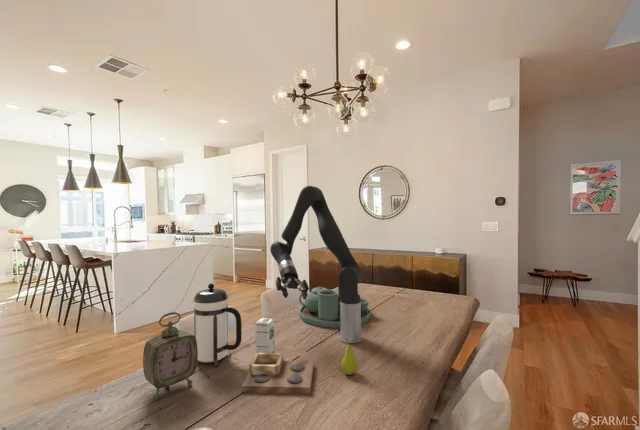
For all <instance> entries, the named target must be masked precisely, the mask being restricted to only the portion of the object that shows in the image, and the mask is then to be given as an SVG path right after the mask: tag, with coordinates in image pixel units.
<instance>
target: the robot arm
mask: <svg viewBox="0 0 640 430" xmlns="http://www.w3.org/2000/svg"><path fill="white" fill-rule="evenodd" d="M324 195H325V194H324V192H323V190H321V189H320V188H319V187H317V186H314V185H313V186H312V185H306V186H304V187H303V188H302V189H301V191H300V192H299V194H298V198H297V200H296V203H295V205H294V206H295V207H294V209H293V211H292V214H291V216H290V218H289V219H288V222H287V224H286V226H285V228H284V230H283V231H282V233H281V238H282V240H284V241H285V242H286V243H284V242H281V241H274V242H273V243H272V244H271V245H270V254H271V256H272V257H273V259H274V260H275V261H276V263H277V267H278V272H279V276H280V277H279V276H277V278H276V280H275V285H276V291H281V292H282V293H281V294H282V296H283V297H284V299H287V298H288V297H289V293H288V289H293V290H296V291H297V292H300V294H302V297H301V298H302V299H303V300H305V299H306V297H307V293H309V290H310V286H309V284H308V283H307V280H306V279H303V280H300V279H299V275H298V272H297V269H296V266H295V264H294V262H293V260H292V259H293V258H292V257H291V255H292V251H293V247H294V244H295V240H296V239H297V237H298V235H299V233H300V232H301V229H302V226H303V221H304V218H305V215H306V213H307V212H308V209H309V208H310V207H311V208H312V210H313V211H314V215H316V220H317V227H318V232H319V235H320V238H321V239H322V241H323V243H324V245H325V246H326V248H327V249H328V250H329V252H330V253H331V254H333V256H335V258H336V260H337V261H338V263H339V265H340V267H341V269H339V270H340V271H339V272H338V275H337V276H338V277H337V287H338V288H337V291H338V292H339V297H340V328H339V333H340V334H339V335H340V337H339V338H340V341H341V342H343V343H346V344H348V343H349V344H357V343H361V342H362V324H361V299H362V298H361V295H360V294H359V291H358V290H359V287H358V285H359V284H360V283H361V282H362V280H363V277H364V276H363V271H362V269H361V267H360V265H359V264H358V262H357V261H356V259H355V258H354V256H353V254H352V252H351V251H350V248H349V247H348V244H347V242H346V240H345V238H344V236H343V233H342V231H341V229H340V228H339V226H338V224H337V222H336V219H335V218H334V216H333V214H332V212H331V211H330V207H328V203H327V201H326V198H325V196H324ZM282 284H283V285H282ZM346 338H347V340H348V342H347V340H346Z"/></svg>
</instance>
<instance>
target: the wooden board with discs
mask: <svg viewBox="0 0 640 430" xmlns="http://www.w3.org/2000/svg"><path fill="white" fill-rule="evenodd" d="M314 362H315V361H313V360H309V361H308V360H284V353H280V352H275V353H256V352H255V354H254V356H253V357H252V359H251V360H250V363H249V365H248V372H247V373H248V374H247V375H246V377H245V379H244V381H243V383H242V385H241V393H251V394H252V393H254V394H255V393H256V394H257V393H258V394H262V393H263V394H296V395H297V394H302V395H303V394H305V395H306V394H307V395H310V394H311V390H312V384H313V383H312V382H313V377H314V375H313V374H314V369H315V367H314V365H315V363H314Z"/></svg>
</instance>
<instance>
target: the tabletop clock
mask: <svg viewBox="0 0 640 430" xmlns="http://www.w3.org/2000/svg"><path fill="white" fill-rule="evenodd" d="M171 315H177V316H178V319H177V320H176V321H174V322H172V321H168V323H167V324H163V323H162V320H163V319H164V318H165V317H168V316H171ZM181 318H182V316H181V314H180V313H178V312H175V311H174V312H173V311H172V312H169V313H165V314H164V315H162V316H161V317H160V318H159V322H158V325H160V326H161V327H163V328H164V327H165V328H164V329H163V330H162V331H161V334H158V335H156V336H152V337H151V338H149V339H148V340H146V341H145V345H144V348H143V352H142V353H143V355H142V366H143V367H142V368H143V375H144V378H145V380H146V381H147V382H149V384H151V385H152V386H154V388H155V389H156V393H155V394H153V399H154V400H158V399H159V398H160V394H159V392H160V389H164V388H170V386H172V385H176V384H178V383H181V382H183V381H184V380H186V384H187V385H188V386H191V385H192V384H193V380H192V379H189V378H190V377H191V376H193V375H195V373H196V370H197V366H198V362H197V357H198V350H197V341H196V338H195V336H194V334H192V333H190V332H187V331H185V330H182V329H178V327H176V326H175V325H177V324H178V323H179V322H180V321H181Z"/></svg>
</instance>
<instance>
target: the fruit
mask: <svg viewBox="0 0 640 430" xmlns="http://www.w3.org/2000/svg"><path fill="white" fill-rule="evenodd" d="M346 340H347V338H346ZM347 342H348V340H347ZM344 352H345V353H344V357H343V358H342V360H341V362H340V364H341V365H340V367H341V369H342V372H344V373H345V374H346V375H348V376H350V375H353V374H354V373H356V371H357V369H358V362H357V359H356V356H355V353H354V350H353V348H352V346H351V345H350V343H347V344H346V348H345V351H344Z"/></svg>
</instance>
